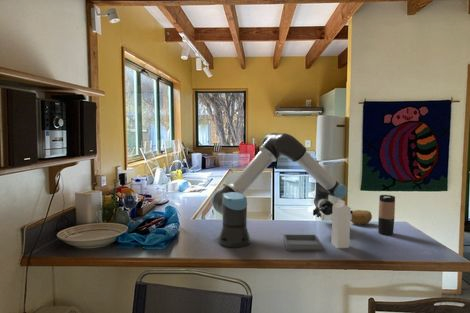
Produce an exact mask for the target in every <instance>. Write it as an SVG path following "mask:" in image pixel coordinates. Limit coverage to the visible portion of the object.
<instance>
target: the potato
mask: <svg viewBox="0 0 470 313" xmlns="http://www.w3.org/2000/svg"><path fill="white" fill-rule="evenodd" d="M352 211H353V216H352V220H350V223H352V224H356V225H365V224H369V223H370V222H371V221H372V219H373V215H372V213H371V212H372V211H369V210H362V209H357V210H356V209H355V210H352Z"/></svg>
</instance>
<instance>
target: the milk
mask: <svg viewBox="0 0 470 313" xmlns="http://www.w3.org/2000/svg"><path fill="white" fill-rule="evenodd" d="M350 211H352V210H351V207H350V206H348V205H346V201H345V200H342V199H341V198H338V200H337V202H335V203H333V207H332V214H331V240H330V242H331V243H330V244H331V245H332V246H333V247H335V248H336V249H349V248H350V240H351V239H350V235H351V221H350Z"/></svg>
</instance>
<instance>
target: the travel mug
mask: <svg viewBox="0 0 470 313" xmlns="http://www.w3.org/2000/svg"><path fill="white" fill-rule="evenodd" d="M378 202H379V203H378V223H377V224H378V228H377V229H378V234H380V235H383V236H393V235H394V228H395V218H396V217H395V215H396V214H395V212H396V196H394V195H391V194H380V195H379V201H378Z"/></svg>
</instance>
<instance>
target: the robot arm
mask: <svg viewBox="0 0 470 313" xmlns="http://www.w3.org/2000/svg"><path fill="white" fill-rule="evenodd" d="M281 156H283V157H286V158H288V159H289V160H291V161H292V162H293V163H297V164H298V165H299V166H300V167H301V168H302V169H303V170H304V171H305V172H306V173H308V174H309V176H311V177H312V178H313V179H314V180H315V194H314V195H315V196H314V197H313V198H314V199H313V204H314V206H315V208H314V209H313V211H312V215H313V216H316V218H321V220H323V221H324V220H325V216H330V215H332V207H333V205H334V203H333V202H331V201H330V199H329V196H330V197H334V198H338V199H342V198H345V197H346V196H347V194H348V187H347V186H346V185H344V184H343V183H340V182H339V181H337V179H336V178H335V177H333V176H332V175H331V174H330V173H329V172H328V171H327V170H326V169H325V168H324V167H323V166H322V165H321V164H320V163H319V162H318V161H317V160H316V159H315V158H314V157H313V156H312V155H311V154H310V153H309V152H308V151H307V148H306V146H304V145H303V143H301V142H300V141H299V140H298V139H297V138H296V137H294V136H293V135H291V134H289V133H283V132H282V133H279V132H272V133H271V132H270V133H269V134H266V135H265V136H264V137H263V140H262V141H261V145H260V146H259V152H257V154H256V155H255V156H254V157H253V158H252V160H251V161H250V162H249V163H248V164H247V165H246V166H245V167H244V169H242V171H240V173H239V174H238V175H237V176H236V177H235V178H234V180H233V181H232V182H231V183H230V184H228V183H227V184H226V185H225V186H224V187H223V188H222V189H220V190H217V191H215V193H213V196H212V198H211V204H212V206H213V208H214V210H215V211H216V212H218V213H219V214H220V215H222V226H221V227H222V228H221V231H220V232H219V237H218V244H219V245H220V246H223V247H225V248H226V247H227V248H242V247H246V246H249V245H250V244H251V236H250V233H249V230H248V226H247V225H248V223H247V221H248V216H247V214H248V213H247V212H248V200H247V199H248V198H247V196H246V195H245V193H246V192H247V191H248V190H249V188H250V187H251V186H252V185H253V184H254V183H255V182H256V180H257V179H258V178H259V177H260V176H261V175H262V174H263V173H264V171H266V169H267V168H268V167H269V166H270V165H271V163H272V162H277V161H278V159H279V158H280V157H281ZM353 211H354V210H351V211H350V220H352V216H353Z"/></svg>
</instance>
